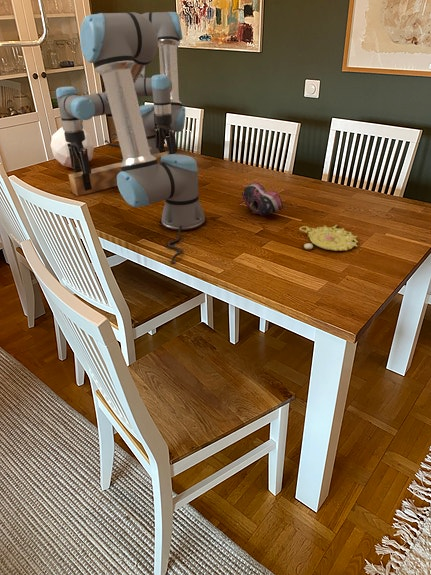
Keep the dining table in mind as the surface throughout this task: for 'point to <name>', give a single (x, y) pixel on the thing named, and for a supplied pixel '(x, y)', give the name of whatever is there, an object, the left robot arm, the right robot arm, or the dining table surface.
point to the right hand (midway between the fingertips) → (84, 187)
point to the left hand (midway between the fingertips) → (167, 166)
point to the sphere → (62, 150)
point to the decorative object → (330, 238)
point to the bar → (101, 177)
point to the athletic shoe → (261, 200)
